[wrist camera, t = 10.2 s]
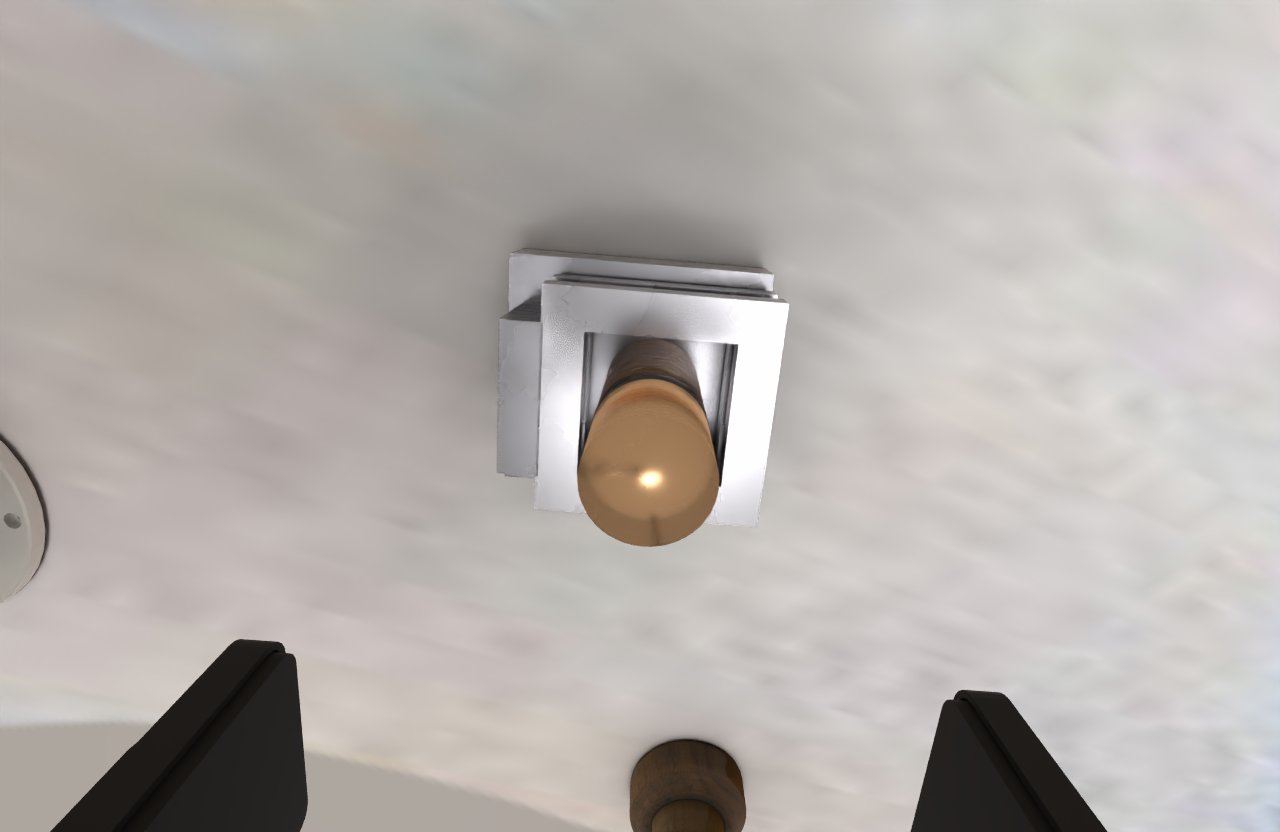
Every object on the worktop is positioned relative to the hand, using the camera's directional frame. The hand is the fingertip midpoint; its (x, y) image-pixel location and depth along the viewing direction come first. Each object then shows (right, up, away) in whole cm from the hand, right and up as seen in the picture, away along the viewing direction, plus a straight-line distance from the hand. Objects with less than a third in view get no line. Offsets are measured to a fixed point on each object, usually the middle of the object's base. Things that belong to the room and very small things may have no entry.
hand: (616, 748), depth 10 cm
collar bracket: (0, +7, +23) cm, 24 cm away
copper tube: (+1, +6, +20) cm, 21 cm away
